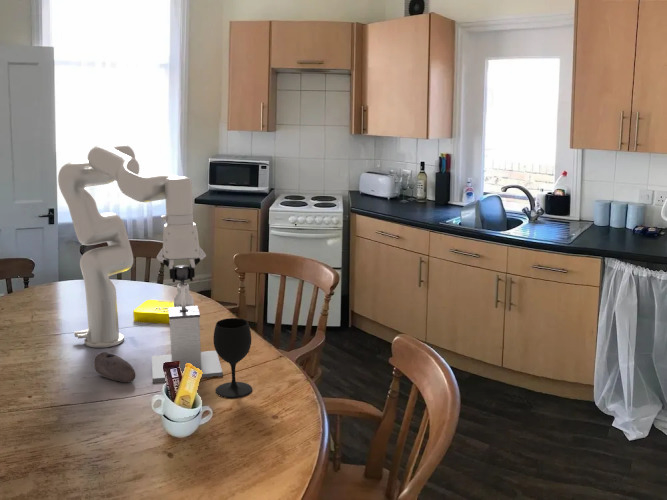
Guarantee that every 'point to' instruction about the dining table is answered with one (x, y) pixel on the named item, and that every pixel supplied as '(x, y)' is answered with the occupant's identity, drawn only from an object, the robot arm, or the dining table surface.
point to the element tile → (153, 312)
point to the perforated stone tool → (114, 367)
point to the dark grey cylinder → (182, 281)
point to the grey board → (208, 367)
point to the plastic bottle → (188, 297)
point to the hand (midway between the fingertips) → (182, 279)
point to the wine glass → (232, 352)
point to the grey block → (185, 335)
